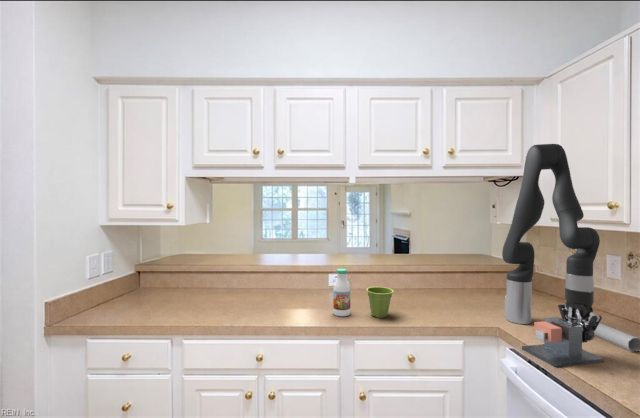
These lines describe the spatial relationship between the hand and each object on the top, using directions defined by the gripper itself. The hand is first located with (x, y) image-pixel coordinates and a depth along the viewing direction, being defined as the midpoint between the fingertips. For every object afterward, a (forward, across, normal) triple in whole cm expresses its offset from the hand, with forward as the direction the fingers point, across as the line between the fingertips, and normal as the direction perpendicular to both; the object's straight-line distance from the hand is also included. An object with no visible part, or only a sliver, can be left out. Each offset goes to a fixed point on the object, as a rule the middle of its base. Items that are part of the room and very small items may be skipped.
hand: (578, 339), depth 113 cm
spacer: (-4, 0, -12) cm, 13 cm away
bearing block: (+5, 0, -6) cm, 8 cm away
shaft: (0, 0, -6) cm, 6 cm away
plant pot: (+5, -49, -50) cm, 70 cm away
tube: (+5, -10, +22) cm, 24 cm away
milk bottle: (+5, -54, -66) cm, 86 cm away
